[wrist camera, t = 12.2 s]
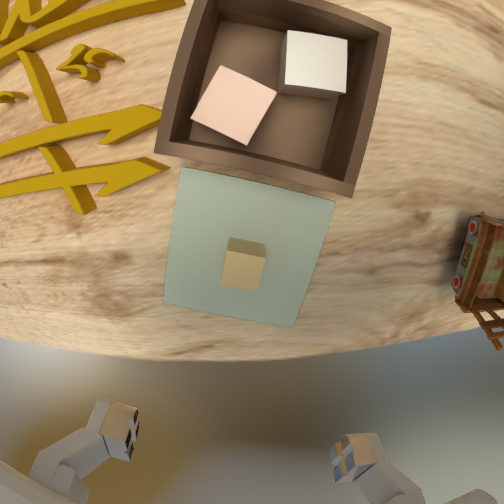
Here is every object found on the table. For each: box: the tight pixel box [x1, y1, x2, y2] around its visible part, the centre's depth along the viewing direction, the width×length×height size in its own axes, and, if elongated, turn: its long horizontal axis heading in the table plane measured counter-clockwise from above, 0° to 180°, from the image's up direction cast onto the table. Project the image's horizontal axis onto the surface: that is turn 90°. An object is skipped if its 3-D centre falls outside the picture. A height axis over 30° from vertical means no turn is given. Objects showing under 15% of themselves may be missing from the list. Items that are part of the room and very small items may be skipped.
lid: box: [163, 166, 336, 328], centre depth 24 cm, size 13×13×4 cm
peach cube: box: [191, 65, 277, 146], centre depth 18 cm, size 4×4×4 cm
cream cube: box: [278, 30, 347, 99], centre depth 17 cm, size 4×4×4 cm
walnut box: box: [154, 0, 392, 198], centre depth 17 cm, size 12×12×7 cm
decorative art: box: [0, 0, 186, 215], centre depth 16 cm, size 34×3×30 cm
